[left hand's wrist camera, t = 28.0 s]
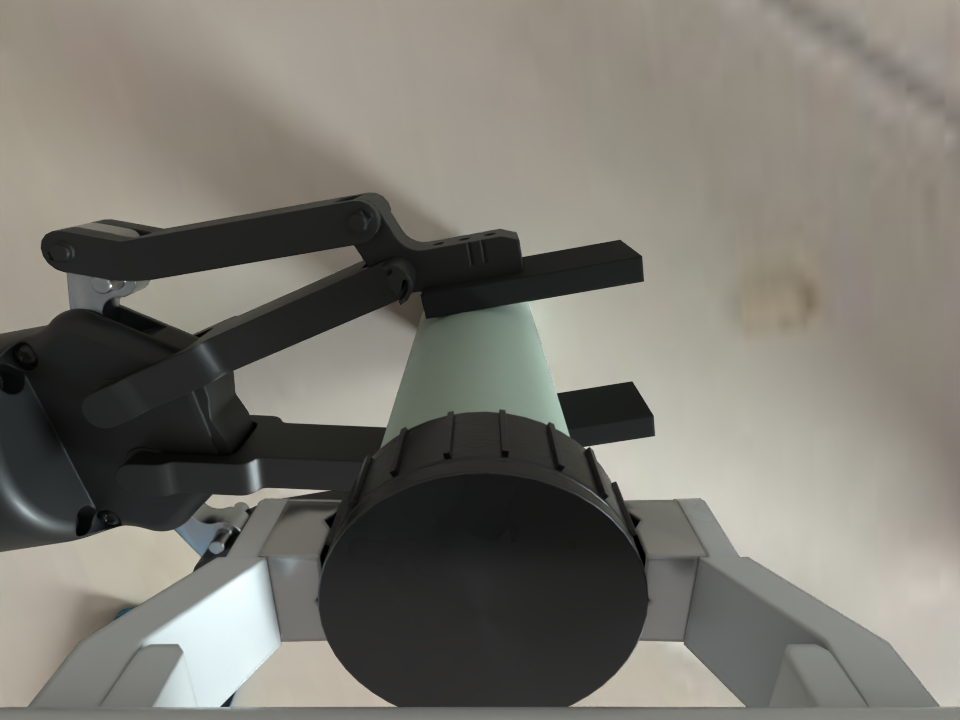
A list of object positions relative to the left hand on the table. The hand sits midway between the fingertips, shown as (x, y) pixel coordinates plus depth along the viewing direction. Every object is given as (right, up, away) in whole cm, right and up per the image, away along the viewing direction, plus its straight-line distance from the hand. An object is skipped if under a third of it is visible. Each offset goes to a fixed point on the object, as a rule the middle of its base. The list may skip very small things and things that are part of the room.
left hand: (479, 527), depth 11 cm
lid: (0, -1, -2) cm, 2 cm away
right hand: (+5, +4, +8) cm, 10 cm away
